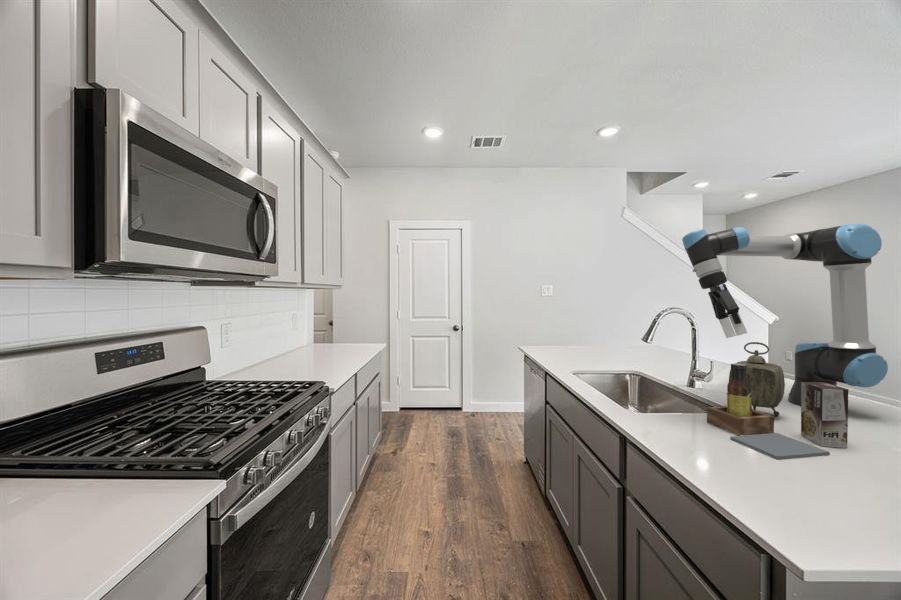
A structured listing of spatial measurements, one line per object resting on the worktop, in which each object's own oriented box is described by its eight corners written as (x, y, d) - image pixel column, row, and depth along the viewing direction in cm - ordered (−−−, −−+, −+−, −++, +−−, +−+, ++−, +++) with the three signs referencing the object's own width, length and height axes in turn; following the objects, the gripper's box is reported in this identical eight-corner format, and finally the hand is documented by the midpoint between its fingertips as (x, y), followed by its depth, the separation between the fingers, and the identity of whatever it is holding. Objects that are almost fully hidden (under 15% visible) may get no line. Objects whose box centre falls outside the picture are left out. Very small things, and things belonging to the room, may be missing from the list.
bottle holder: (738, 420, 132) (739, 405, 132) (773, 433, 120) (774, 416, 120) (706, 422, 130) (706, 407, 130) (739, 435, 118) (739, 418, 118)
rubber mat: (777, 435, 118) (777, 433, 118) (829, 455, 104) (829, 451, 104) (730, 439, 115) (730, 436, 115) (777, 459, 101) (777, 456, 101)
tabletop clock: (784, 416, 136) (785, 343, 135) (780, 422, 130) (781, 345, 129) (733, 407, 146) (734, 339, 146) (727, 412, 140) (727, 341, 140)
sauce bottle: (756, 431, 121) (756, 366, 121) (732, 430, 122) (733, 366, 122) (744, 424, 128) (745, 362, 127) (722, 423, 129) (723, 362, 128)
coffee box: (848, 448, 108) (850, 389, 108) (821, 446, 110) (822, 388, 109) (824, 436, 117) (825, 381, 117) (799, 434, 119) (800, 380, 118)
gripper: (692, 284, 146) (715, 340, 141) (704, 270, 123) (732, 336, 118) (715, 278, 143) (739, 334, 138) (732, 262, 121) (762, 329, 116)
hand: (736, 335), depth 128 cm, fingers open, 13 cm apart
